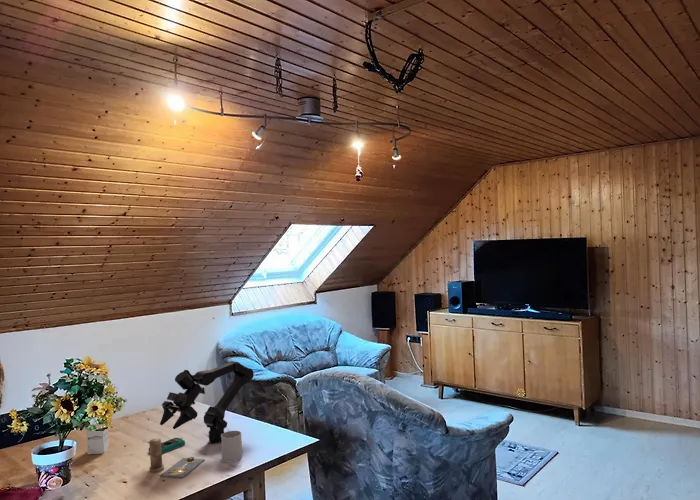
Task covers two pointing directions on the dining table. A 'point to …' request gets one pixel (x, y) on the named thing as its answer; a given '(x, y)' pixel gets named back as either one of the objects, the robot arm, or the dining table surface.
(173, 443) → the digital multimeter
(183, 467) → the gauge plate
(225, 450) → the cup
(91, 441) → the supplement box
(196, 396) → the robot arm
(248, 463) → the dining table surface
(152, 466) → the walnut post
